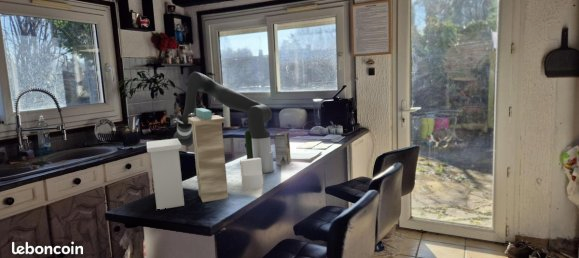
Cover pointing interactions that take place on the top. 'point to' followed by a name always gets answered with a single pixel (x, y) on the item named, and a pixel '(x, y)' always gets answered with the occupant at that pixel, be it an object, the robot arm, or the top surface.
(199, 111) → the teal bar
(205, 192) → the birch stand
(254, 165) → the cylinder with rectangular tab
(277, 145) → the coffee box
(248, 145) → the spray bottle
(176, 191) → the white pedestal
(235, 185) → the top surface
